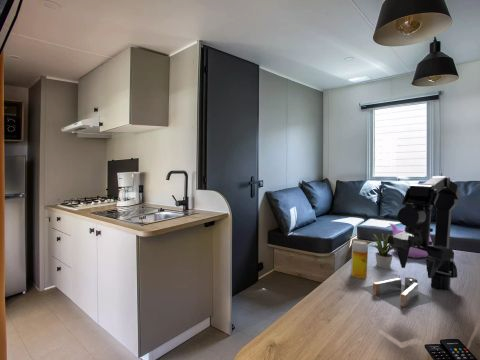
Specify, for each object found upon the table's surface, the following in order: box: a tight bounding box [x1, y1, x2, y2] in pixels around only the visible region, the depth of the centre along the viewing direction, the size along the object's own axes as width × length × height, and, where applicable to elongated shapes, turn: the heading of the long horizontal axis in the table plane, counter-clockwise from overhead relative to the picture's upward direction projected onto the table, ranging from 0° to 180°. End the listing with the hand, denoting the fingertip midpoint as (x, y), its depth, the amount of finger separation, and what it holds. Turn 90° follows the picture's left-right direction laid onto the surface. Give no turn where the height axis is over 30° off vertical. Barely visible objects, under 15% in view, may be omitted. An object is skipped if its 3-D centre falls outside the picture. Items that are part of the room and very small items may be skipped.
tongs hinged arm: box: [400, 276, 419, 308], centre depth 99 cm, size 18×5×4 cm, turn 133°
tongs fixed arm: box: [372, 277, 403, 297], centre depth 102 cm, size 13×1×4 cm, turn 113°
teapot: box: [389, 223, 434, 259], centre depth 152 cm, size 23×21×15 cm
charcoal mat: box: [360, 283, 438, 311], centre depth 101 cm, size 18×17×1 cm
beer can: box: [350, 240, 369, 279], centre depth 117 cm, size 6×6×15 cm
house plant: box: [368, 232, 395, 269], centre depth 127 cm, size 14×14×16 cm
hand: (415, 272), depth 89 cm, fingers open, 9 cm apart
